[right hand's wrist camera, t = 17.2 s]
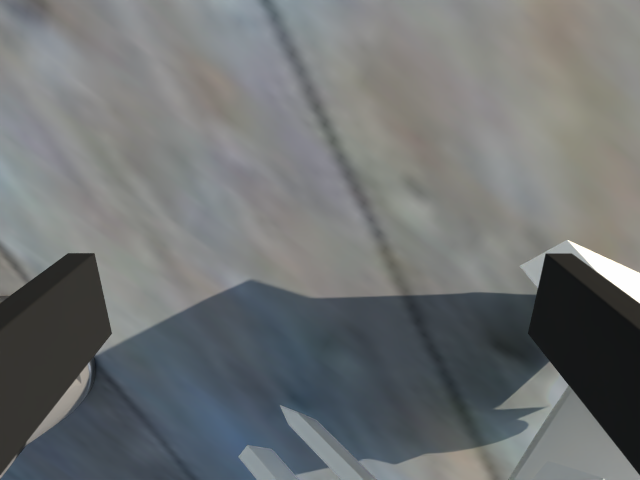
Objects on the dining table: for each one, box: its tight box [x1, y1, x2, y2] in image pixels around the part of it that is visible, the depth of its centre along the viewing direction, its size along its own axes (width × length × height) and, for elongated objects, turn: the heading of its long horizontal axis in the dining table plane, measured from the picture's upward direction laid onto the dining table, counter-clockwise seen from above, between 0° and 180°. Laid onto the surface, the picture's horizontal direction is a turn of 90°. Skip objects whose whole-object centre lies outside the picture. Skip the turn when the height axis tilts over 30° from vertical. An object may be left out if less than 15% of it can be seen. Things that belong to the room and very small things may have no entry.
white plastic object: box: [238, 240, 640, 480], centre depth 34 cm, size 37×45×31 cm
